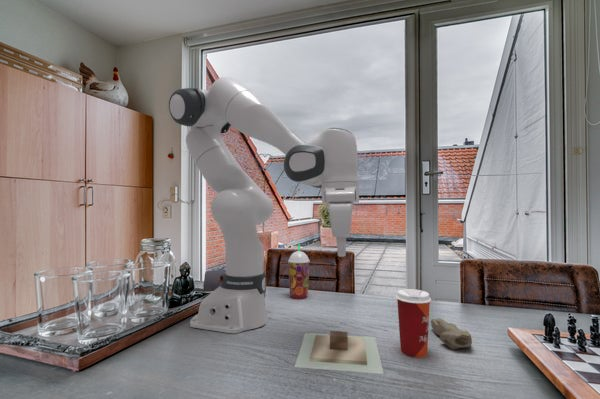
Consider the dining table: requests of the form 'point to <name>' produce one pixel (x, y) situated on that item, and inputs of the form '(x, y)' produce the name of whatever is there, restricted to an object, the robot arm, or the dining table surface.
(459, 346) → the sculpture
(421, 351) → the paper cup
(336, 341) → the lid
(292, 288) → the smoothie
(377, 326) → the dining table surface
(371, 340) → the mat
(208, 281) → the bluetooth speaker
